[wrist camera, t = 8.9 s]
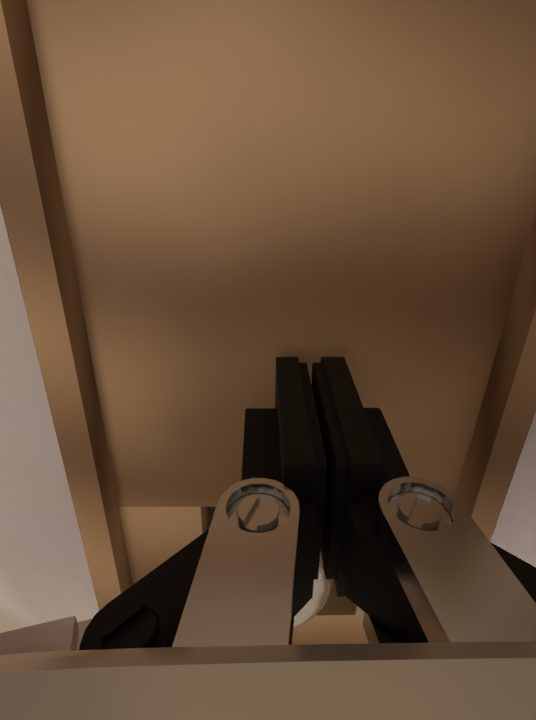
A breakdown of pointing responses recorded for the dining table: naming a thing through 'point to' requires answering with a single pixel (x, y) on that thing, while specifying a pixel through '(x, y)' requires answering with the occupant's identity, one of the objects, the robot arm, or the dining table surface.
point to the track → (269, 242)
